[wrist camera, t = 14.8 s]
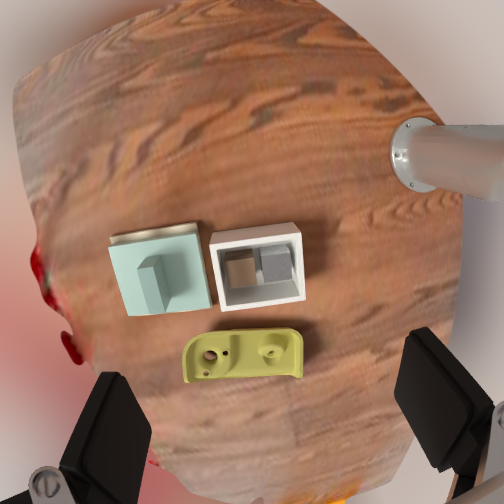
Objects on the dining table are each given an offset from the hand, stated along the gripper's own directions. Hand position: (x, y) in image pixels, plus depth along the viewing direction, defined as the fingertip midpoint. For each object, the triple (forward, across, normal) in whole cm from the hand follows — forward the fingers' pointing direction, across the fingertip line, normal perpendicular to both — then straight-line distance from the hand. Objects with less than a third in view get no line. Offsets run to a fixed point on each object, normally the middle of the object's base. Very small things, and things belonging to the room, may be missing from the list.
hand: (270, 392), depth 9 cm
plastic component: (+37, +3, +25) cm, 45 cm away
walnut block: (+36, +2, +9) cm, 37 cm away
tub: (+36, -1, +9) cm, 37 cm away
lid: (+35, +14, +9) cm, 39 cm away
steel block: (+36, -4, +9) cm, 37 cm away
